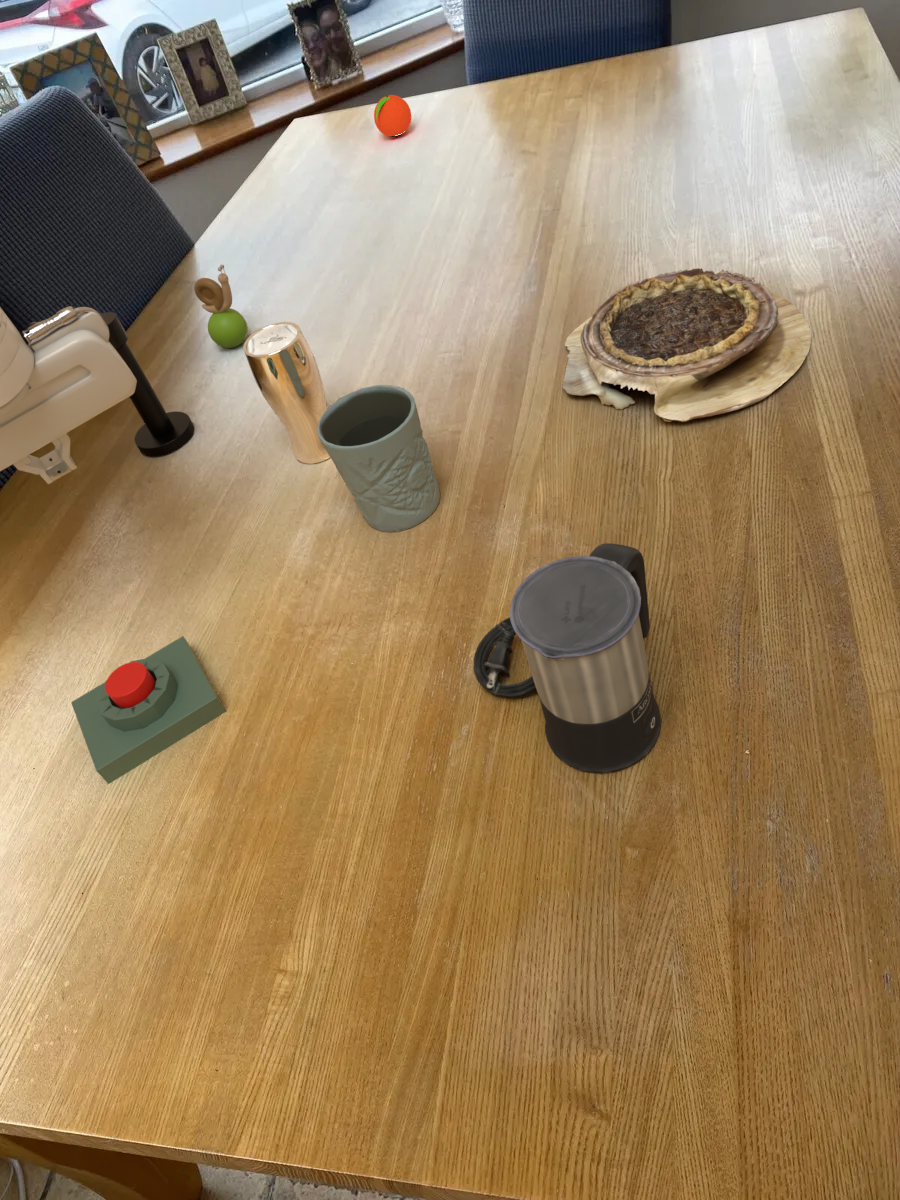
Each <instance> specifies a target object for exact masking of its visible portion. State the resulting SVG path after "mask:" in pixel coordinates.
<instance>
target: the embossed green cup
mask: <svg viewBox="0 0 900 1200" xmlns="http://www.w3.org/2000/svg"><path fill="white" fill-rule="evenodd" d="M327 408H328V409H327V410H326V411H325V412H324V414H323V415H322V416H321V418H320V420H319V423H318V426H317V432H318V437H319V439H320V441H321V442H322V444H323V446H324V448H325V449H326V451H327V453H328V454H329V456H330V457H331V458H330V459H331V460H332V463H333V464H334V466H335V468H336V470H337V472H338V473H339V474H340V476H341V478H342V481H343V482H344V483H345V486H346V487H347V489H348V490H349V492H350V493H351V495H352V496H353V497H354V503H355V505H356V507H357V508H358V510H359V512H360V513H361V515H362V518H363V519H364V520H365V522H366V523H367V524H368V525H369V526H370V527H371V528H373V529H374V530H377V531H380V532H383V533H395V532H396V533H398V532H402V531H406V530H409V529H413V528H414V527H416V526H418V525H420V524H421V523H423V522H424V521H426V520H427V519H429V518H430V517H431V516H432V515H433V514H434V513H435V511H436V510H437V508H438V506H439V504H440V500H441V493H440V487H439V484H438V483H439V482H438V480H437V477H436V472H435V470H434V467H433V464H432V461H433V460H432V458H431V455H430V450H429V447H428V443H427V441H426V439H425V438H424V436H423V434H424V433H423V429H422V427H421V424H422V423H421V419H420V415H419V412H418V408H417V404H416V400H415V397H414V396H413V395H412V393H411V392H410V391H408V390H407V389H406V388H404V387H401V386H396V385H391V384H390V385H389V384H375V385H370V386H366V387H363V388H360V389H357V390H355V391H352V392H349V393H347V394H345V395H344V396H342V397H340V398H339V399H337V400H336V401H335V402H333V403H332V404H331V405H329V406H328V407H327Z"/></svg>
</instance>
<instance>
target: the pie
mask: <svg viewBox="0 0 900 1200" xmlns="http://www.w3.org/2000/svg"><path fill="white" fill-rule="evenodd" d="M755 278H756V277H754V276H753V277H750V276H749V277H747V276H746V275H745V274H744V273H743V274H742V273H739V272H733V273H732V272H730V271H729V270H724V269H721V271H720V270H719V272H717V273H715V271H713V270H703V267H701V268H700V267H698V268H692V269H689V270H688V269H685V270H682V269H680V270H678V271H672V272H665V273H660V274H658V275H656V276H653V277H650V278H644V279H642V280H641V281H640V282H639V281H638V280H637V281H635V282H631V283H629V284H628V285H625V286H623V287H621V288H619V289H618V290H616V291H614V292H613V293H611V294H609V295H608V296H607V297H605V299H604V300H603V301H602V302H601V303H600V305H598V307H597V308H596V309H595V312H594V313H593V314H592V315H591V316H590V317H588V318H587V319H586V320H585V321H584V322H582V323H581V324H580V325H578V327H576V328H575V329H574V330H573V331H572V332H571V333H569V335H568V336H567V338H566V340H565V342H564V346H565V347H567V350H568V351H569V352H568V354H567V355H566V356H567V358H568V360H567V363H566V366H565V374H564V376H563V379H562V384H561V385H562V388H563V389H564V391H565V392H566V394H569V395H572V396H580V397H585V396H590V395H591V396H592V395H596V396H597V397H598V398H599V400H600V403H601V404H600V405H602V406H604V405H605V406H613V407H614V408H615V410H623V409H625V408H628V407H630V405H634V404H636V401H635V400H634V399H633V397H631V396H629V395H627V394H624V393H623V392H621V391H619V390H618V389H615V388H613V387H610V385H611V384H612V385H613V386H616V385H620V389H623V388H625V387H627V388H628V390H630V389H631V388H632V390H633V391H635V390H636V389H637V391H642V392H643V393H644V392H645V391H647V393H648V394H650V395H654V405H653V411H654V414H655V415H656V416H658V417H659V418H661V419H662V420H663V421H664V422H669V423H670V422H675V421H676V422H680V423H687V422H689V421H691V420H695V419H702V418H707V417H713V416H718V415H723V414H726V413H730V412H735V411H737V410H740V409H744V408H746V407H749V406H752V405H754V404H756V403H758V402H760V401H762V400H764V399H766V398H767V397H768V396H769V395H771V394H772V393H773V392H775V391H776V390H777V389H779V387H781V386H782V385H783V384H784V383H786V382H787V381H788V380H789V379H790V378H791V377H792V376H794V375H795V374H796V372H797V371H798V370H799V369H800V368H801V366H802V365H803V363H804V362H805V359H806V358H807V356H808V354H809V352H810V349H811V343H812V333H811V328H810V326H809V322H808V320H807V319H806V317H805V316H804V314H803V313H802V312H801V311H800V309H799V308H798V307H797V306H796V305H794V304H793V303H792V302H791V301H790V300H788V299H786V298H784V297H783V296H781V295H778V294H776V293H773V292H771V290H770V289H769V288H768V287H767V286H765V285H764V284H762V282H760V281H759V282H756V280H755ZM755 282H756V283H755ZM609 384H610V385H609Z"/></svg>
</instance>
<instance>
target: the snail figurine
mask: <svg viewBox="0 0 900 1200" xmlns="http://www.w3.org/2000/svg"><path fill="white" fill-rule="evenodd" d="M222 270H223V272H222ZM217 271H218V272H220V273H219V274H218V275H217V280H218V282H219V283H218V282H217V281H215V280H214V279H212V278H209V277H201V278H199V279H197V280H196V282H195V283H194V287H193V288H194V293H195V296H196V297H197V299H198V300H199V301H200V302H201V303H203V304H201V308H203V309H204V311H206V312H208V313H210V314H211V315H210V317H209V318H208V322H207V331H208V335H209V337H210V339H211V340H212V341H213V342H214V343H215V344H216V345H218V346H220V347H222V348H226V349H232V348H235V347H238V346H240V345H241V344H242V343H244V342H245V339H246V337H247V335H248V325H247V322H246V319H245V318H244V316H243V315H242V314H241V313H240V312H239V311H237V310H236V309H234V308H231V307H232V305H233V294H232V288H231V284H230V282H229V277H228V274H226V271H225V265H224V264H221V263H220V265H219V266H218V267H217Z"/></svg>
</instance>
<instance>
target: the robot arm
mask: <svg viewBox="0 0 900 1200" xmlns="http://www.w3.org/2000/svg"><path fill="white" fill-rule="evenodd" d="M100 314H101V313H99V312H98V311H97V310H96V309H94V308H92V307H88V306H77V307H75V308H74V307H73V306H72V305H70V306H66V307H63V308H62V309H60V310H58V311H57V312H56V313H55V314H53V315H52V316H50V317H49V318H46V319H43V320H41V321H38V322H39V323H36V324H35V325H33V326H31V327H29V326H28V327H29V328H28V327H27V328H26V329H23V330H22V331H19V330H18V329H17V327H16V326H15V324H14V323H13V322H12V320H11V319H10V318H9V317H8V315H7V314H6V313H5V311H4V310H3V308H2V307H1V306H0V472H2V471H3V470H4V471H5V469H8V468H9V467H11V466H12V465H13V466H14V467H15V468H16V469H17V471H21V472H25V473H28V474H32V475H37V476H38V475H39V476H40V477H41V478H42V479H43V481H44V482H45V483H46V484H47V485H50V484H53V482H56V481H58V480H59V479H61V478H63V477H64V476H66V475H67V474H69V473H71V472H73V471H74V470H76V469H78V465H77V464H76V463H75V460H74V459H73V457H72V456H71V438H70V436H69V434H68V433H69V432H71V431H72V430H74V429H76V428H78V427H80V426H81V425H83V424H85V423H86V422H88V421H90V420H92V419H93V418H95V417H96V416H97V417H98V415H100V414H102V413H104V412H105V411H107V410H109V409H111V408H112V407H114V406H116V405H117V404H119V403H121V402H123V401H125V400H126V399H129V397H130V396H131V395H132V394H134V392H135V388H136V383H137V380H136V378H135V376H134V375H133V373H132V372H131V370H130V369H129V367H128V366H127V364H126V363H125V362H124V360H123V359H122V357H121V356H120V355H119V353H118V352H117V351H116V349H115V348H114V347H113V346H112V345H111V343H110V342H109V341H108V340H109V329H108V326H107V325H106V323H105V322H104V320H103V318H102V317H101V315H100ZM51 443H52V444H53V445H54V449H52V450H51V451H49V452H47V453H45V454H44V455H42V456H41V457H37V456H35V455H32V454H33V453H34V452H37V451H38V450H40V449H41V448H43V447H45V446H47V445H48V444H51Z"/></svg>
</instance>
